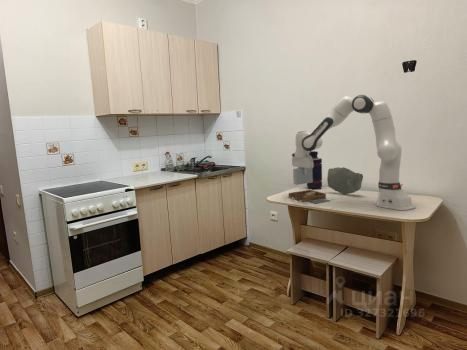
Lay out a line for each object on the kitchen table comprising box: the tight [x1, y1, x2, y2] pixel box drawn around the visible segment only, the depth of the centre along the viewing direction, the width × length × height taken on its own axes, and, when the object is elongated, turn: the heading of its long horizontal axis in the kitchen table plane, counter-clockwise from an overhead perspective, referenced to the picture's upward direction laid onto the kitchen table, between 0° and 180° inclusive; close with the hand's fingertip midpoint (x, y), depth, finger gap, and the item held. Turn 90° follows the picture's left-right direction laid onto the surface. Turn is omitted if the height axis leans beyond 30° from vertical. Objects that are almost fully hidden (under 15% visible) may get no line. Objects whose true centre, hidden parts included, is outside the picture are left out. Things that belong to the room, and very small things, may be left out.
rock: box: [326, 166, 364, 195], centre depth 235 cm, size 27×6×20 cm, turn 45°
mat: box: [308, 198, 331, 205], centre depth 220 cm, size 7×13×1 cm, turn 115°
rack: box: [288, 189, 327, 203], centre depth 232 cm, size 17×20×4 cm
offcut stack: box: [302, 192, 315, 198], centre depth 228 cm, size 4×10×4 cm, turn 115°
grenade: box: [306, 150, 323, 190], centre depth 264 cm, size 14×12×30 cm
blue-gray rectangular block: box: [292, 167, 313, 186], centre depth 232 cm, size 4×14×11 cm, turn 115°
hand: (302, 173), depth 232 cm, fingers closed on blue-gray rectangular block, 3 cm apart
